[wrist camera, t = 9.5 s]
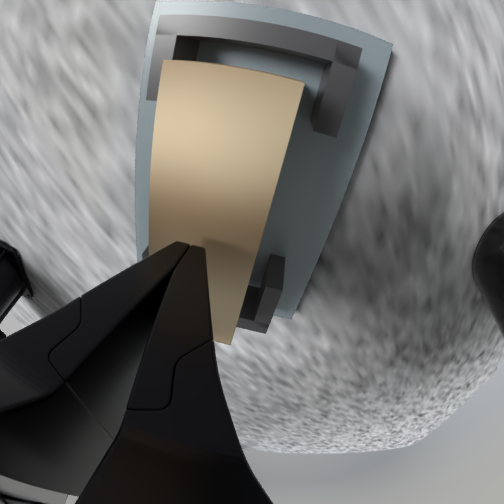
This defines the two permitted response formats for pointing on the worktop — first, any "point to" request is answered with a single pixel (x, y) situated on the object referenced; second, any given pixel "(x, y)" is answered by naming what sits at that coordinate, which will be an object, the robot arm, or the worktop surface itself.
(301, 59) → the board
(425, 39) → the worktop surface
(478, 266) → the supplement bottle
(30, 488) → the robot arm
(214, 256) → the slat
